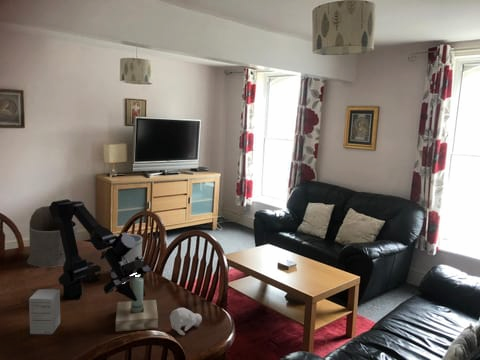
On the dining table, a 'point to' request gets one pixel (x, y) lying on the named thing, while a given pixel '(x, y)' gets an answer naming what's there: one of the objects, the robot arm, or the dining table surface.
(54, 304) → the supplement box
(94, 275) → the end cap
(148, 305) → the square hole wooden block
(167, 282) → the dining table surface
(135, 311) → the plug
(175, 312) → the white rounded figure
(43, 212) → the gray lidded bin
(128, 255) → the utensil holder
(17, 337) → the dining table surface
